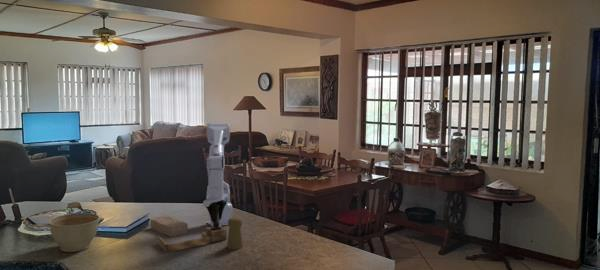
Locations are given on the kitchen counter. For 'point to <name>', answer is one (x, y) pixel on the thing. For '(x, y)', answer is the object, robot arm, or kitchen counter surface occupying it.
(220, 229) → the walnut gauge block
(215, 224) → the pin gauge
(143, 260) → the kitchen counter surface
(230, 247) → the cork
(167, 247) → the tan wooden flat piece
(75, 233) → the planter bowl
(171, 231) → the brick
